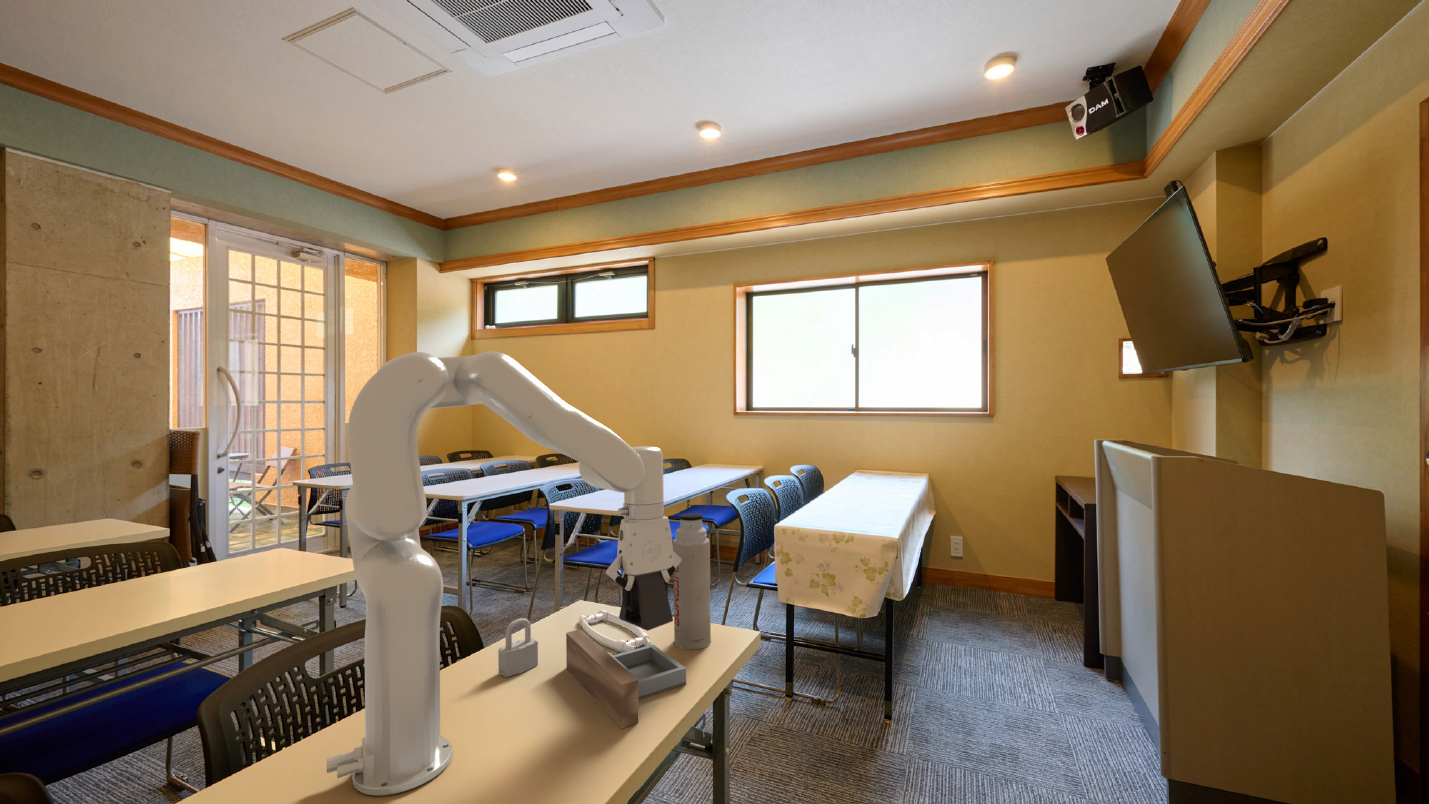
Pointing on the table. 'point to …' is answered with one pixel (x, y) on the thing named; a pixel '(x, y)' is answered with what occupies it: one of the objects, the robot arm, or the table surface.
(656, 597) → the door stopper
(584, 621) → the door handle
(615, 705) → the board
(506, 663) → the padlock
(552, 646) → the table surface
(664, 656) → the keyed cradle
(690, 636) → the thermos bottle
